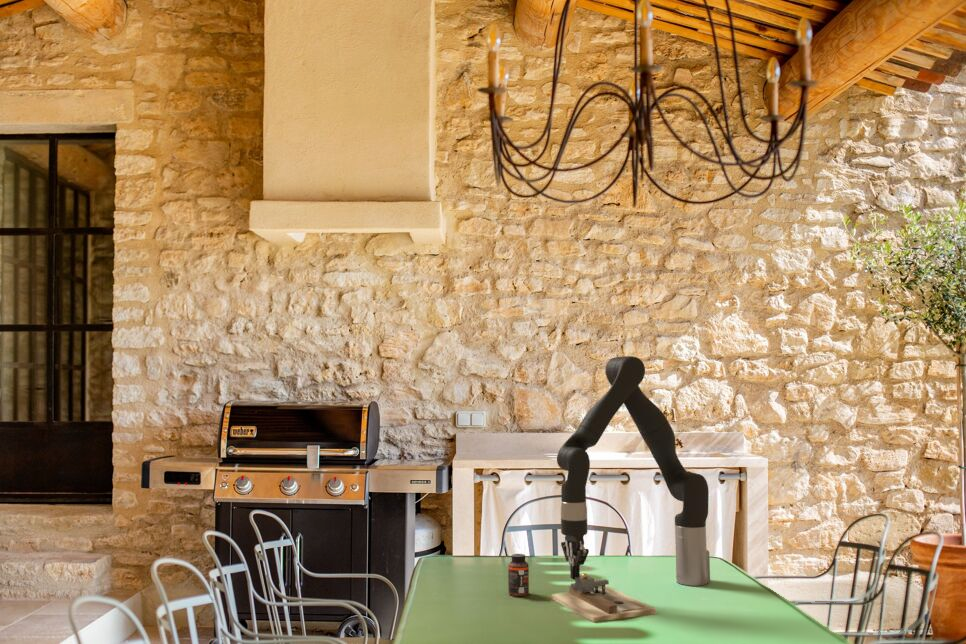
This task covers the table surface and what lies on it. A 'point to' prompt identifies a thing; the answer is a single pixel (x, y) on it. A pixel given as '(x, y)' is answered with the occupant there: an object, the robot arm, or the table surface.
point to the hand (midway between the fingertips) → (575, 578)
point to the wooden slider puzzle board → (602, 604)
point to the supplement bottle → (518, 576)
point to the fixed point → (594, 586)
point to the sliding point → (589, 584)
